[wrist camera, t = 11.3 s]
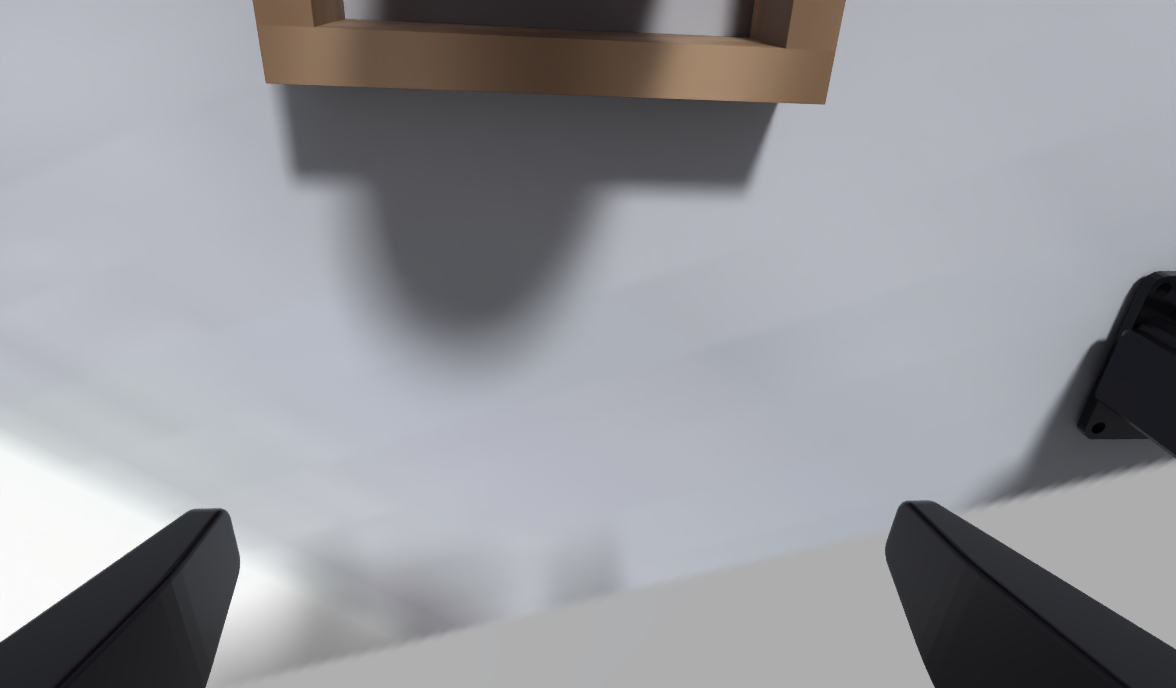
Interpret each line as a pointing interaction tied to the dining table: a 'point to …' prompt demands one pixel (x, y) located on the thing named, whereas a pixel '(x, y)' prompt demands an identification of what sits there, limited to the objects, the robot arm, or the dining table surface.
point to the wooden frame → (555, 55)
